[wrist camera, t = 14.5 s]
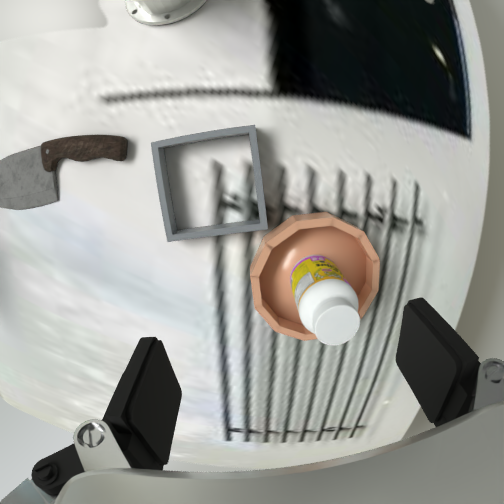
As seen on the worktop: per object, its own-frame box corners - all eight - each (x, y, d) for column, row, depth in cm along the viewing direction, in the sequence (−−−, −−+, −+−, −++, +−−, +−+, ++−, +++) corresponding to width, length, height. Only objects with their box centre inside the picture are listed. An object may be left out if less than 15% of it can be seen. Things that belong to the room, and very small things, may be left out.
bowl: (244, 221, 37) (243, 227, 34) (369, 207, 37) (380, 212, 34) (259, 332, 43) (260, 346, 39) (367, 316, 42) (375, 328, 39)
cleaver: (128, 120, 33) (121, 119, 31) (133, 191, 36) (126, 193, 34) (-4, 162, 34) (-12, 163, 32) (1, 214, 37) (-6, 217, 35)
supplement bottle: (345, 269, 39) (382, 316, 26) (316, 305, 40) (339, 362, 28) (308, 243, 37) (335, 283, 25) (278, 282, 39) (290, 336, 27)
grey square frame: (157, 143, 34) (150, 142, 32) (254, 127, 34) (255, 124, 31) (172, 236, 38) (167, 242, 36) (266, 224, 38) (267, 229, 35)
